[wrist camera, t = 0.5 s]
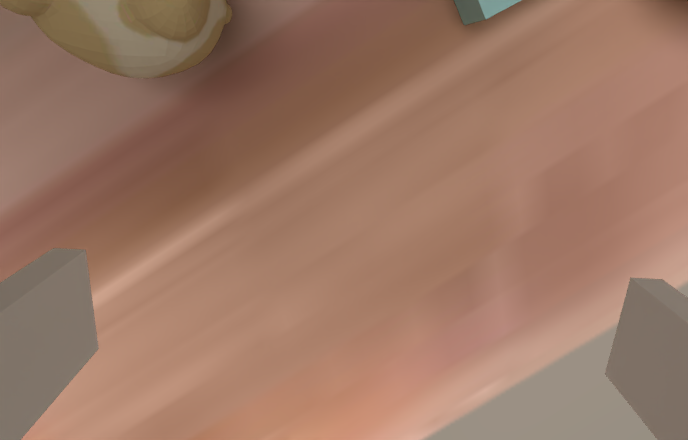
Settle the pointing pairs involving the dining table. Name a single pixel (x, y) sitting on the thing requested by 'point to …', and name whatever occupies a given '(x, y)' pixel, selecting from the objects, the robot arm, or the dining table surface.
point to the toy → (131, 31)
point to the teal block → (481, 9)
